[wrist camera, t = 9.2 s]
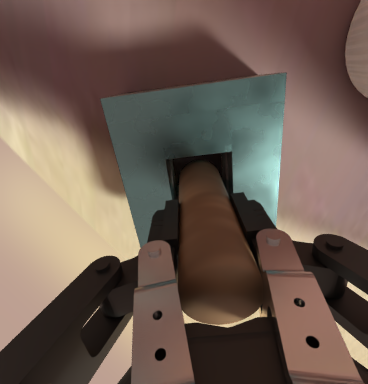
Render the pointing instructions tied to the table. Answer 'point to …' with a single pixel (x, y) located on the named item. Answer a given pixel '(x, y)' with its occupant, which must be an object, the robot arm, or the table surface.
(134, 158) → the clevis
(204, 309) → the pin
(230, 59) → the table surface
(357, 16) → the ramekin
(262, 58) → the table surface
